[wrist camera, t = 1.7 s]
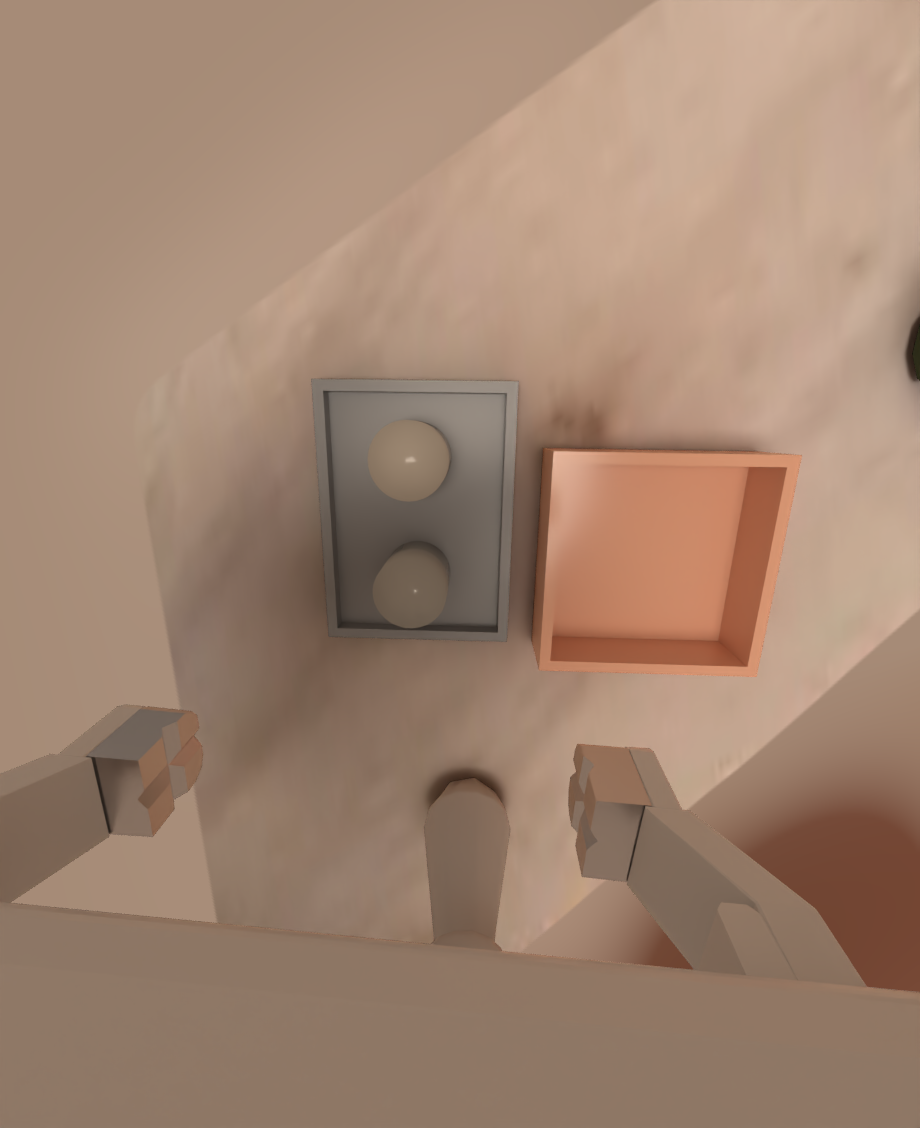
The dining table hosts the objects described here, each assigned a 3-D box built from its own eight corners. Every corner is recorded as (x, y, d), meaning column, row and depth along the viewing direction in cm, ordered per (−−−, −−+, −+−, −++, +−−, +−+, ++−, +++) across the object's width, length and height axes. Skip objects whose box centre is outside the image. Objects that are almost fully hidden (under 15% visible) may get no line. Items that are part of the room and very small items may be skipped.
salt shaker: (449, 843, 36) (434, 1064, 23) (414, 785, 35) (378, 987, 22) (520, 817, 35) (545, 1033, 23) (487, 756, 34) (493, 950, 21)
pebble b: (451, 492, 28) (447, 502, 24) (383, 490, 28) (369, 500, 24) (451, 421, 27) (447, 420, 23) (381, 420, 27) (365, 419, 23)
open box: (721, 645, 31) (756, 676, 27) (531, 640, 31) (539, 670, 27) (756, 451, 27) (802, 455, 24) (543, 448, 28) (553, 451, 24)
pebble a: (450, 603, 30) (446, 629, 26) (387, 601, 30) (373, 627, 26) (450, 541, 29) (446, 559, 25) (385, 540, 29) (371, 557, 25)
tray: (505, 632, 31) (506, 641, 30) (334, 627, 31) (328, 636, 30) (516, 383, 27) (518, 381, 26) (319, 381, 27) (311, 378, 26)
